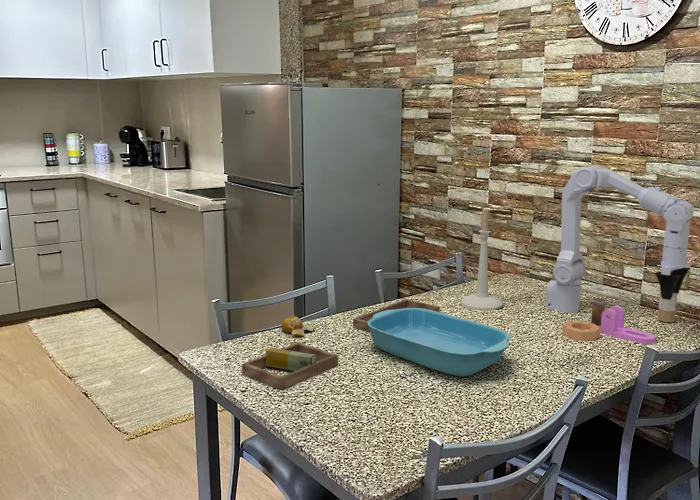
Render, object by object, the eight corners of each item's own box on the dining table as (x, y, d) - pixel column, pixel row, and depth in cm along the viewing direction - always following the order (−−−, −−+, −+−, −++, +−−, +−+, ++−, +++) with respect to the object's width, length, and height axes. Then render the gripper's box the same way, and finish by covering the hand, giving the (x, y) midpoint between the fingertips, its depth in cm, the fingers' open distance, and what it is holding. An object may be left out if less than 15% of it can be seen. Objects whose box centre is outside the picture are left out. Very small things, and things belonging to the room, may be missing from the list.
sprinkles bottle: (661, 317, 183) (666, 271, 181) (678, 320, 180) (682, 274, 177) (654, 320, 180) (658, 273, 178) (670, 323, 177) (675, 276, 174)
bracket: (600, 333, 170) (602, 308, 169) (609, 328, 174) (611, 304, 173) (649, 346, 161) (652, 319, 160) (658, 340, 165) (661, 315, 163)
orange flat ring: (558, 335, 168) (558, 326, 168) (571, 327, 175) (571, 318, 174) (590, 343, 163) (591, 334, 162) (602, 334, 169) (603, 325, 169)
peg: (589, 323, 178) (590, 299, 176) (593, 321, 180) (595, 297, 178) (600, 326, 175) (603, 302, 174) (605, 323, 178) (607, 299, 176)
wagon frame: (353, 327, 175) (353, 319, 175) (406, 306, 194) (406, 298, 193) (387, 337, 167) (387, 328, 167) (439, 314, 186) (439, 306, 185)
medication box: (316, 371, 146) (317, 354, 145) (311, 374, 143) (312, 357, 143) (270, 363, 150) (270, 346, 149) (264, 366, 147) (265, 349, 147)
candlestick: (457, 307, 193) (460, 209, 186) (464, 296, 204) (467, 203, 198) (500, 312, 188) (505, 211, 182) (504, 300, 200) (509, 205, 194)
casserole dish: (526, 361, 152) (528, 333, 150) (474, 390, 136) (476, 359, 134) (406, 326, 177) (406, 302, 175) (350, 347, 161) (350, 321, 159)
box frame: (242, 374, 144) (242, 364, 144) (298, 352, 158) (298, 342, 157) (281, 390, 136) (281, 379, 135) (338, 365, 149) (337, 355, 149)
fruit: (298, 337, 166) (298, 324, 165) (274, 333, 171) (273, 320, 170) (317, 329, 173) (316, 316, 172) (293, 324, 177) (292, 312, 177)
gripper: (684, 253, 161) (679, 304, 164) (698, 244, 171) (693, 292, 174) (655, 249, 165) (650, 299, 168) (670, 240, 176) (665, 288, 179)
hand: (670, 295), depth 171 cm, fingers open, 7 cm apart
